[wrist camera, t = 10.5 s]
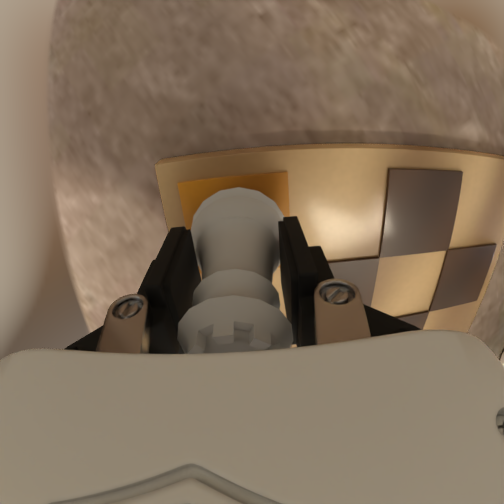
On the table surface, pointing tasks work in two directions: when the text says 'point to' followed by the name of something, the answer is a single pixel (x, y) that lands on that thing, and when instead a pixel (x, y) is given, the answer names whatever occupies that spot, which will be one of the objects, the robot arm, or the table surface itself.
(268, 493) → the robot arm
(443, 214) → the board
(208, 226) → the rook chess piece
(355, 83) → the table surface
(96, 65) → the table surface
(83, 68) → the table surface
